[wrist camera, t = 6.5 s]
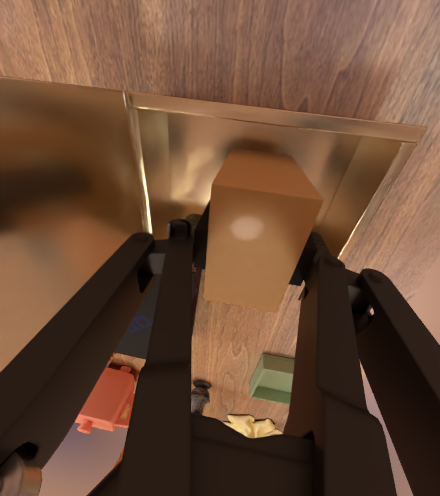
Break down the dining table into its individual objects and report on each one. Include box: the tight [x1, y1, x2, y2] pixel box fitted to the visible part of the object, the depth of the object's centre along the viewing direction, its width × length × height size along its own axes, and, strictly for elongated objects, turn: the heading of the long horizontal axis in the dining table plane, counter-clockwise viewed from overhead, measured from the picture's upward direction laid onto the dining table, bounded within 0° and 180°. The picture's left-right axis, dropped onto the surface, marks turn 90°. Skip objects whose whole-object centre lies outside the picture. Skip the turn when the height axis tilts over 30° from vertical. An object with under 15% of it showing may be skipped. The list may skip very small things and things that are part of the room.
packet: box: [203, 148, 324, 313], centre depth 15 cm, size 5×8×10 cm, turn 174°
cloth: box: [223, 415, 283, 438], centre depth 69 cm, size 22×19×6 cm
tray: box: [249, 354, 295, 405], centre depth 46 cm, size 13×16×3 cm
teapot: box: [75, 366, 135, 433], centre depth 54 cm, size 22×13×14 cm, turn 77°
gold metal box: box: [123, 91, 427, 263], centre depth 20 cm, size 20×14×7 cm
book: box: [114, 262, 202, 359], centre depth 33 cm, size 17×25×7 cm
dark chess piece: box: [191, 380, 211, 415], centre depth 52 cm, size 6×6×12 cm
